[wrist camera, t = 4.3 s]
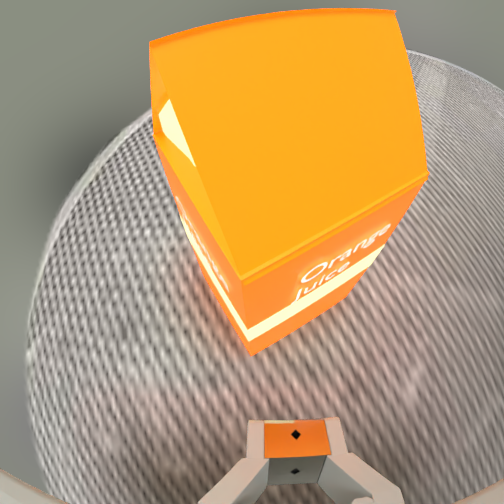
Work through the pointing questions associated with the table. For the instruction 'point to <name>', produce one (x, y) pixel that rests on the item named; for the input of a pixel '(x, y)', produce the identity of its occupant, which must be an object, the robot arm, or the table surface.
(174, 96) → the orange juice
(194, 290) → the table surface
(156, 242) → the table surface
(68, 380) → the table surface
